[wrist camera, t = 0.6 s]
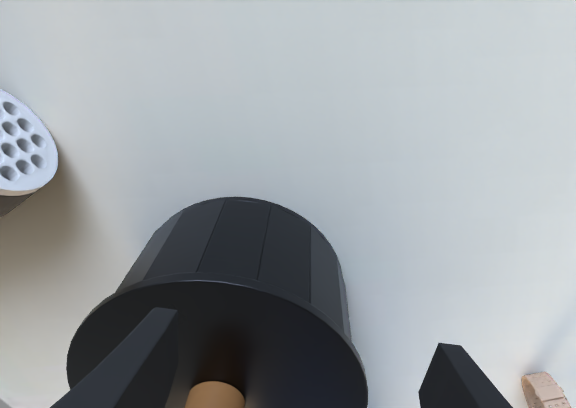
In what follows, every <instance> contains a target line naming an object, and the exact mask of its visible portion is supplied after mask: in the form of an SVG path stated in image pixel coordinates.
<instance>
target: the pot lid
mask: <svg viewBox="0 0 576 408" xmlns="http://www.w3.org/2000/svg"><path fill="white" fill-rule="evenodd" d="M155 307H158V308H166V309H174V310H178V366H177V369H176V373H175V377H174V380H173V383H172V387H171V390H170V393H169V397H168V400H167V403H166V405H165V408H367V405H368V386H367V380H366V375H365V369H364V366H363V364H362V361H361V359H360V356H359V354H358V352H357V350H356V349H355V347H354V345H353V344H352V342H351V340H350V339H349V338H348V337H347V336H346V334H345V333H344V332H343V331H342V330H341V328H340V327H339V326H338V325H337V324H336V323H335V322H333V321H332V320H331V319H330V318H329V317H328V316H327V315H326V314H324V313H323V312H322V311H320V310H319V309H317V308H316V307H314V306H313V305H312V304H310V303H309V302H307V301H305V300H303V299H301V298H299V297H298V296H296V295H294V294H292V293H290V292H288V291H285V290H283V289H280V288H278V287H275V286H273V285H270V284H267V283H264V282H260V281H257V280H253V279H250V278H245V277H239V276H234V275H228V274H219V273H204V272H197V273H177V274H171V275H164V276H158V277H154V278H150V279H147V280H143V281H140V282H137V283H135V284H132V285H130V286H127V287H125V288H123V289H120V290H119V291H117V292H116V293H114V294H112V295H111V296H109V297H107V298H106V299H104V300H103V301H102V302H101V303H100V304H98V305H97V306H96V307H95V308H94V309H93V310H92V311H91V312H90V313H89V315H88V316H87V317H86V318H85V319H84V321H83V322H82V323H81V325H80V326H79V328H78V329H77V331H76V333H75V335H74V337H73V339H72V341H71V344H70V347H69V351H68V354H67V367H66V370H67V378H68V383H69V387H70V390H71V389H72V388H73V387H74V386H76V385H77V384H78V383H79V382H80V381H81V380H82V379H83V378H85V377H86V376H87V375H88V374H89V373H90V372H91V371H92V370H93V369H94V368H95V367H97V366H98V365H99V364H100V363H101V362H102V361H103V360H104V359H105V358H106V357H107V356H108V355H109V354H110V353H111V352H112V351H113V350H114V349H115V348H116V347H117V346H118V345H119V344H120V343H121V342H122V341H123V340H124V339H125V338H126V337H127V336H128V335H129V334H130V333H131V332H132V331H133V330H134V329H135V327H136V326H137V325H138V324H139V323H140V322H141V321H142V320H143V319H144V318H145V317H146V316H147V315H148V313H149V312H150V311H151V310H152V309H154V308H155Z"/></svg>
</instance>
